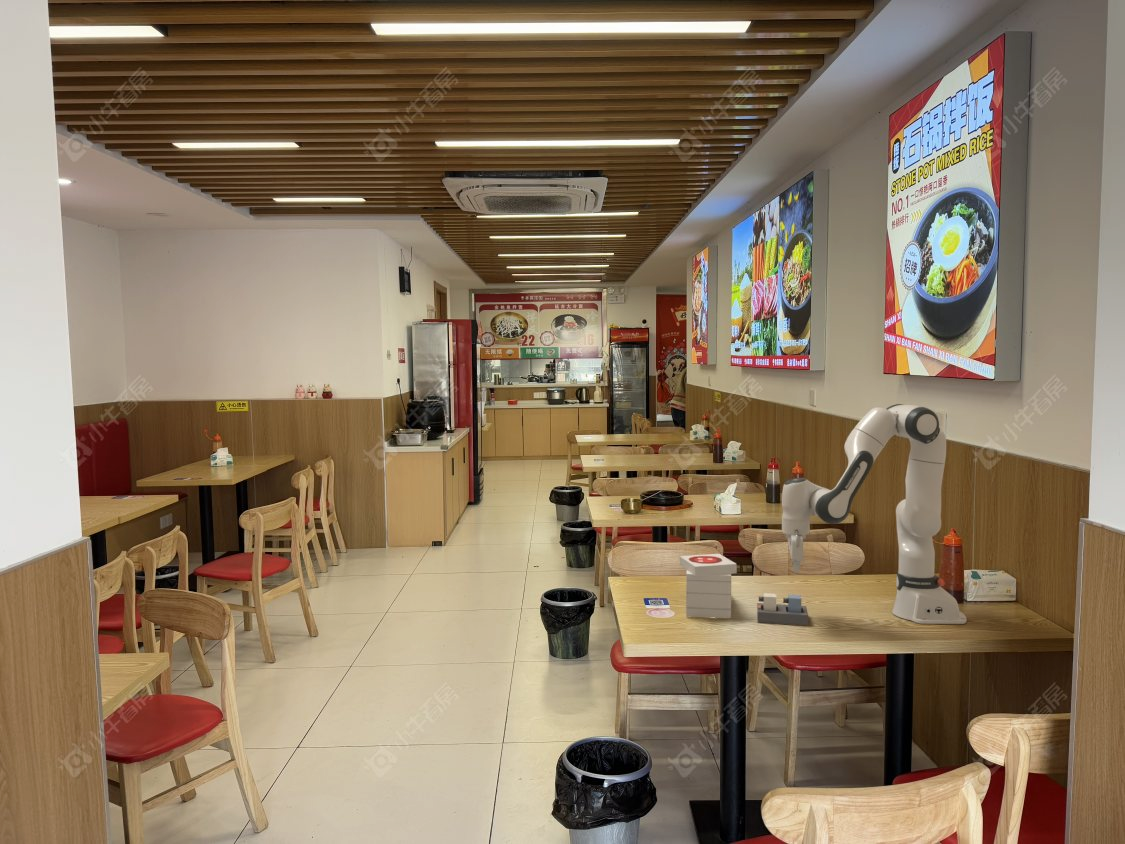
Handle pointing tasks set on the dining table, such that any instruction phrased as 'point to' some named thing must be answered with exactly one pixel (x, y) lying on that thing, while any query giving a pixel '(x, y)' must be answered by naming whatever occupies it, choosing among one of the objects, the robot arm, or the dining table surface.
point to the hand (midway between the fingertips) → (795, 568)
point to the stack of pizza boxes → (708, 585)
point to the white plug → (768, 602)
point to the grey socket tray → (782, 615)
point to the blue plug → (793, 603)
